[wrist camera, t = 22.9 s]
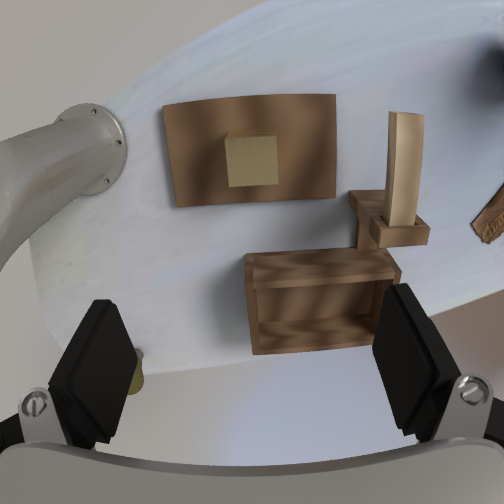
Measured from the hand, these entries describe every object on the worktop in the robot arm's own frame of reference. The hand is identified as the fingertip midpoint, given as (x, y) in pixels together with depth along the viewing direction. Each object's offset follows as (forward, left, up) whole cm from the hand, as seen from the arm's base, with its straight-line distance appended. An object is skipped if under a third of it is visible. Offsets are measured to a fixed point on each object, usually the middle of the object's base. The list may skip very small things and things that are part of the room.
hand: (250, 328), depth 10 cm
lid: (0, 0, -31) cm, 31 cm away
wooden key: (+15, -2, -22) cm, 26 cm away
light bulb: (-24, -34, -31) cm, 52 cm away
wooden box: (+8, -17, -30) cm, 36 cm away
